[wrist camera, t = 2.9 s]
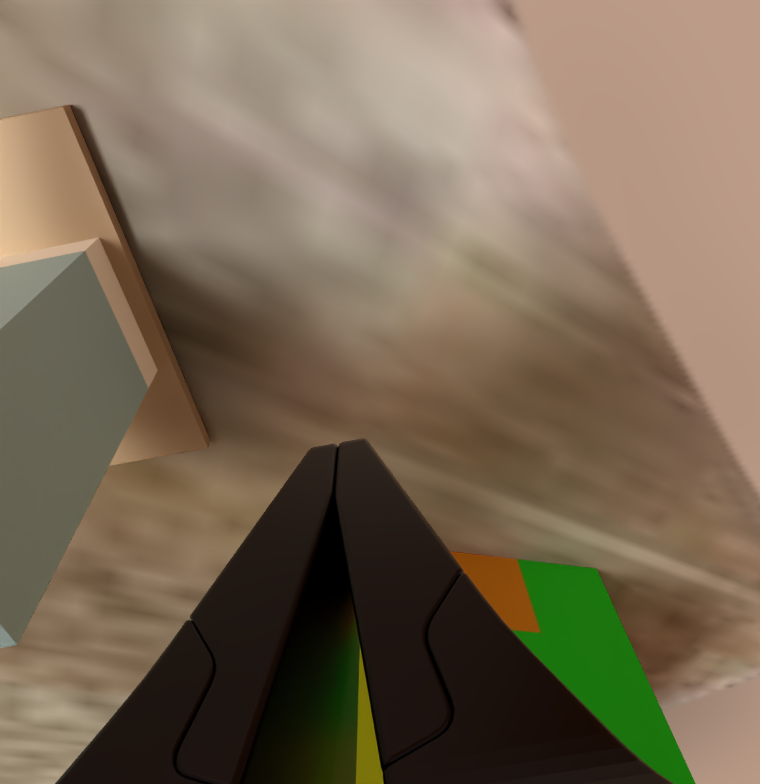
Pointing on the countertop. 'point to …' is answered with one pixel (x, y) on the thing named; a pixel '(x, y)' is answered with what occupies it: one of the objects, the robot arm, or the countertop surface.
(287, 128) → the countertop surface
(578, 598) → the puzzle toy
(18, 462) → the pillar
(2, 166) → the mat
